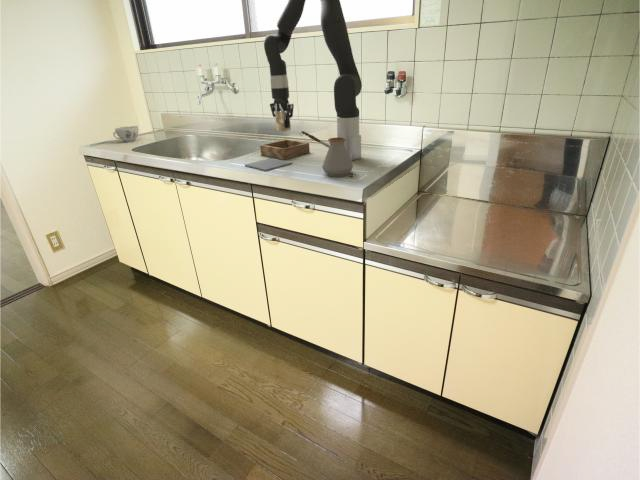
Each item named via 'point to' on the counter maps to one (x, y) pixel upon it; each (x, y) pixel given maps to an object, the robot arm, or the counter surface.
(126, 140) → the teacup
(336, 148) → the coffee pot
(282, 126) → the maple block
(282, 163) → the charcoal mat
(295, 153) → the walnut crate
